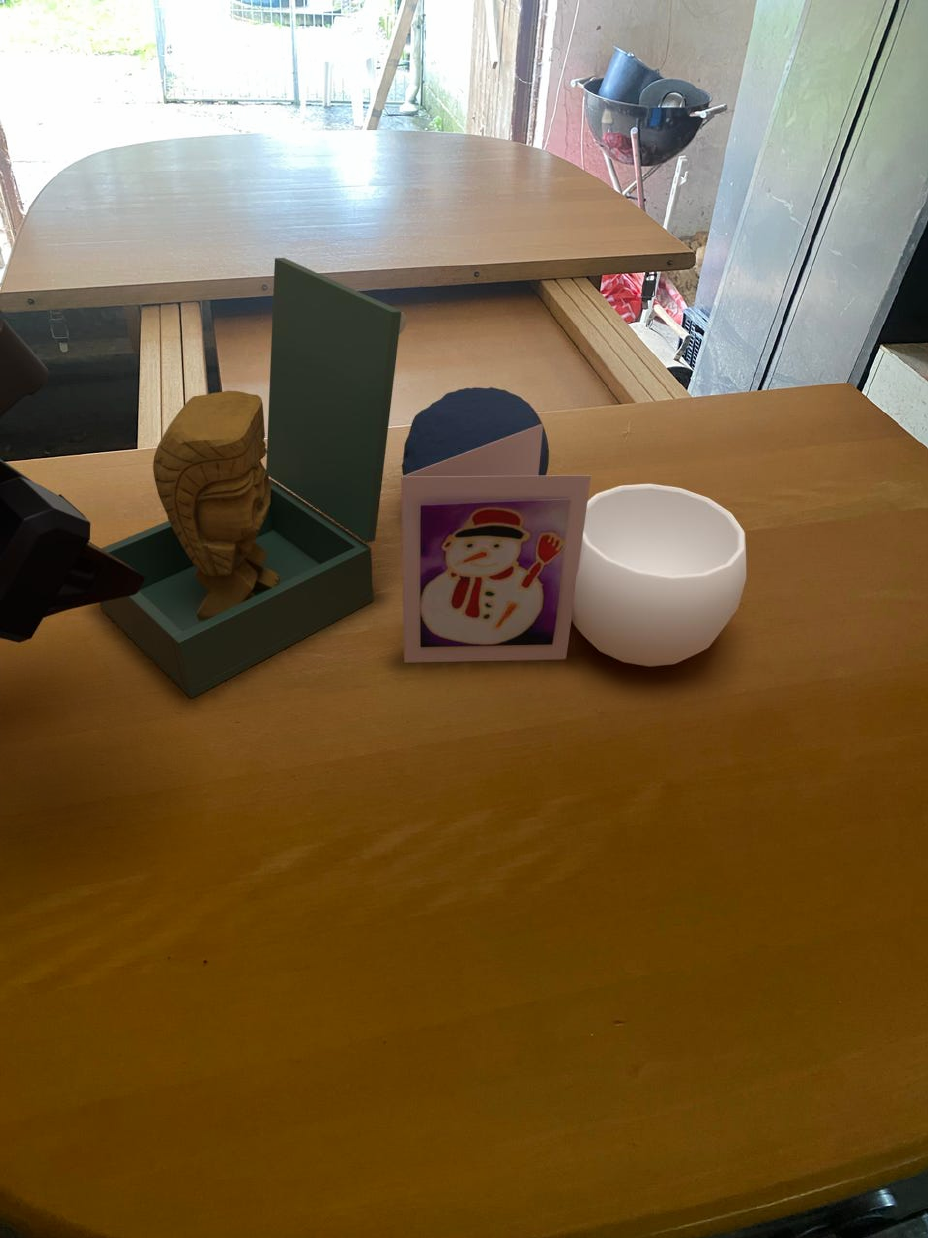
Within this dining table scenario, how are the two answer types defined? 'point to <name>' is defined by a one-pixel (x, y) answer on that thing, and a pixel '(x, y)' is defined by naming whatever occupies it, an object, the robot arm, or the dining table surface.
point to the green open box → (255, 629)
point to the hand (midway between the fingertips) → (98, 546)
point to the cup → (657, 573)
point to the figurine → (218, 494)
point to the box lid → (330, 394)
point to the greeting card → (490, 555)
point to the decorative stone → (468, 426)
